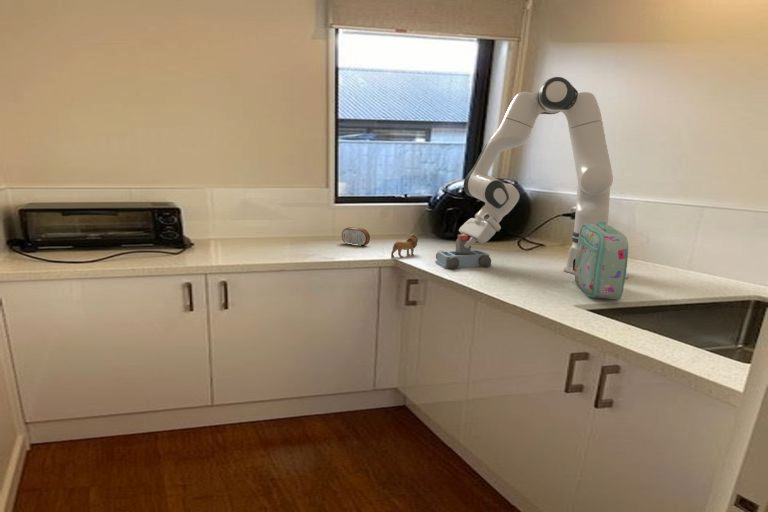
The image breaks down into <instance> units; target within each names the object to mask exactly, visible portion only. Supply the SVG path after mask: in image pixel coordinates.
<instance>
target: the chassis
mask: <svg viewBox="0 0 768 512" xmlns="http://www.w3.org/2000/svg"><path fill="white" fill-rule="evenodd" d="M435 259H436V260H435V264H437V265H438V266H440V267H442V268H443V269H451V270H456V269H459V268H460V269H461V268H474V267H475V268H476V267H483V268H488V267H491V264H492V258H491V257H490V254H489V253H487V252H485V251H483V250H480V249H473V248H471V255H457V256H456V250H438V251H437V252H436V253H435Z"/></svg>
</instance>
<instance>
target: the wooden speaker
mask: <svg viewBox="0 0 768 512" xmlns="http://www.w3.org/2000/svg"><path fill="white" fill-rule="evenodd" d="M341 239H342V242H343V243H345V242H347V243H352V244H358V245H365V246H367V245H369V242H370V240H371V236H370V233H369V231H368V230H367V229H365V228H361V227H353V226H348V227H346V228H343V230H342V232H341Z"/></svg>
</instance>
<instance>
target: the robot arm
mask: <svg viewBox="0 0 768 512" xmlns="http://www.w3.org/2000/svg"><path fill="white" fill-rule="evenodd" d="M558 113H562V114H564V116H565V118H566V121H567V127H568V132H569V138H570V143H571V149H572V155H573V161H574V165H575V171H576V178H577V189H576V190H577V191H576V201H575V202H576V203H575V204H576V205H575V214H574V216H575V217H574V227H573V231H572V234H571V241H572V244H571V246H570V248H569V250H568V254H567V255H568V256H567V261H566V266H565V267H564V268H563V272H566V273H569V274H573V275H574V271H573V260H574V259H575V258H576V251H577V244H578V238H579V234H580V230H581V228H582V226H583V225H584V224H597V222H598V221H599V222H606V226H609V225H608V222H609V215H610V213H609V212H610V198H611V197H610V194H611V187H612V184H613V181H614V176H613V170H612V165H611V160H610V155H609V154H610V153H609V150H608V146H607V140H606V134H605V129H604V124H603V117H602V114H601V113H602V112H601V110H600V107H599V103H598V101H597V98H596V96H595V95H594V93H591V92H588V91H582V92H578V90H577V89H576V88H575V87H574V86H573V84H572V83H571V82H570V81H569V80H568V79H567V78H564V77H561V76H555V77H554V76H553V77H550V78H549V79H547V80H546V81H545V82H543V83H542V85H541V87H540V89H539V90H538V91H537V92H530V91H520V92H518V93H516V94H515V96H514V97H513V99H512V101H511V102H510V104H509V106H508V107H507V110H506V112H505V114H504V116H503V118H502V120H501V123H500V124H499V127H498V128H497V129H496V131H495V132H494V133H492V134H491V136H490V137H489V138H488V140H487V142H486V143H485V145H484V146H483V148H482V151H481V152H480V154H479V155H478V158H477V160H476V162H475V164H474V165H473V167H472V168H471V169H470V171H469V172H468V174H467V175H466V176H465V178H464V181H463V190H464V193H465V194H466V195H467V196H469V197H471V198H475V199H477V200H479V201H481V202H484V203H485V204H484V205H483V206H482V207H481V208H480V209H479V211H477V212H476V213H475V214H474V217H471V218H469V219H467V221H465V222H464V223H463V224H462V225H461V226H460V227H459V229H458V232H459V233H460V235H463V234H467V235H469V241H467V242H465V243H464V244H463V246H464V247H465V248H468V247H469V246H470V245H471V246H472V245H474V244H475V243H476V242H477V243H479V244H482V245H483V244H485V243H487V242H488V241H489V240H491V238H492V237H493V236H495V234H496V232H500V230H501V229H502V227H501V225H500V222H501V221H502V220H503V218H504V217H505V216H506V215H508V214H510V212H511V211H512V210H513V209H514V207H515V206H516V205H517V203H519V200H520V192H519V190H518V188H516V187H515V186H514V185H513V184H511V183H506V182H502V180H500V179H498V178H496V177H493V176H490V175H488V174H489V171H490V169H491V168H492V166H493V164H494V162H495V160H496V159H497V157H498V155H499V154H501V153H502V152H505V151H507V150H511V149H516V148H518V147H521V146H522V145H523V144H525V143H526V141H528V138H530V135H531V134H532V133H531V132H532V130H533V128H534V125H535V123H536V121H537V119H538V117H539V115H555V114H556V115H557V114H558ZM628 278H629V274H627V273H626V277H625V280H626V279H628Z"/></svg>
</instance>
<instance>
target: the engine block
mask: <svg viewBox="0 0 768 512" xmlns="http://www.w3.org/2000/svg"><path fill="white" fill-rule="evenodd" d="M469 240H470V238H469V235H467V234H463V235H462V234H457V239H455V251H456V256H457V255H471V249H472V248H471V247H472V245H470V246H469V247H468V248H465V247H464V246H463V244H464V243H465V242H467V241H469Z"/></svg>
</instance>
